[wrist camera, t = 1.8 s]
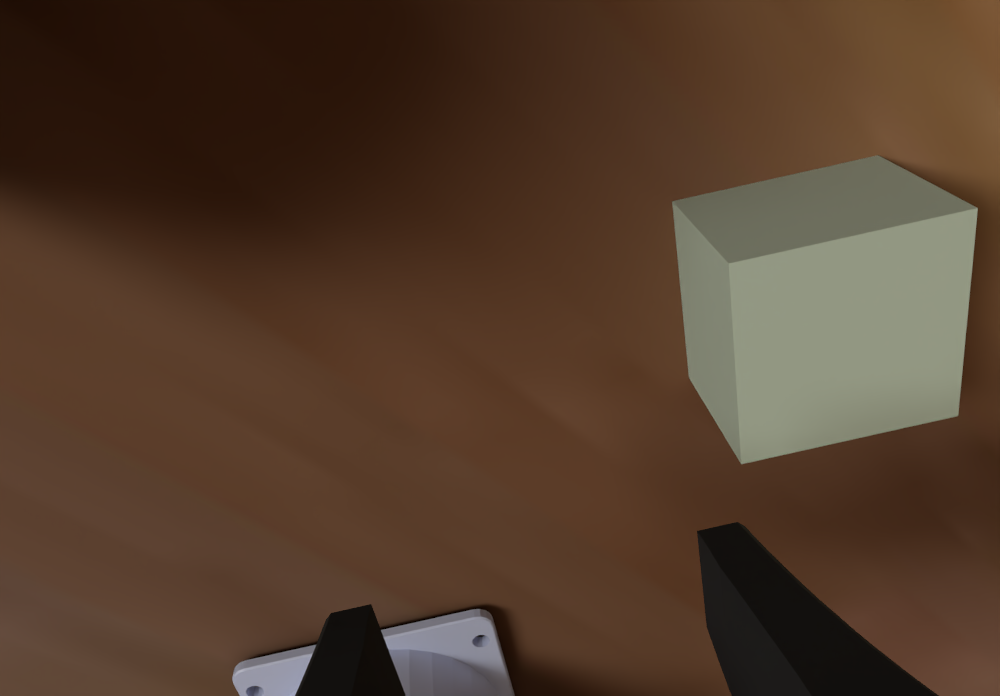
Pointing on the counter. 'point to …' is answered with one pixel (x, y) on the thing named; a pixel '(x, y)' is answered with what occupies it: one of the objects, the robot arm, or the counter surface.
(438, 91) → the counter surface
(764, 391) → the block
